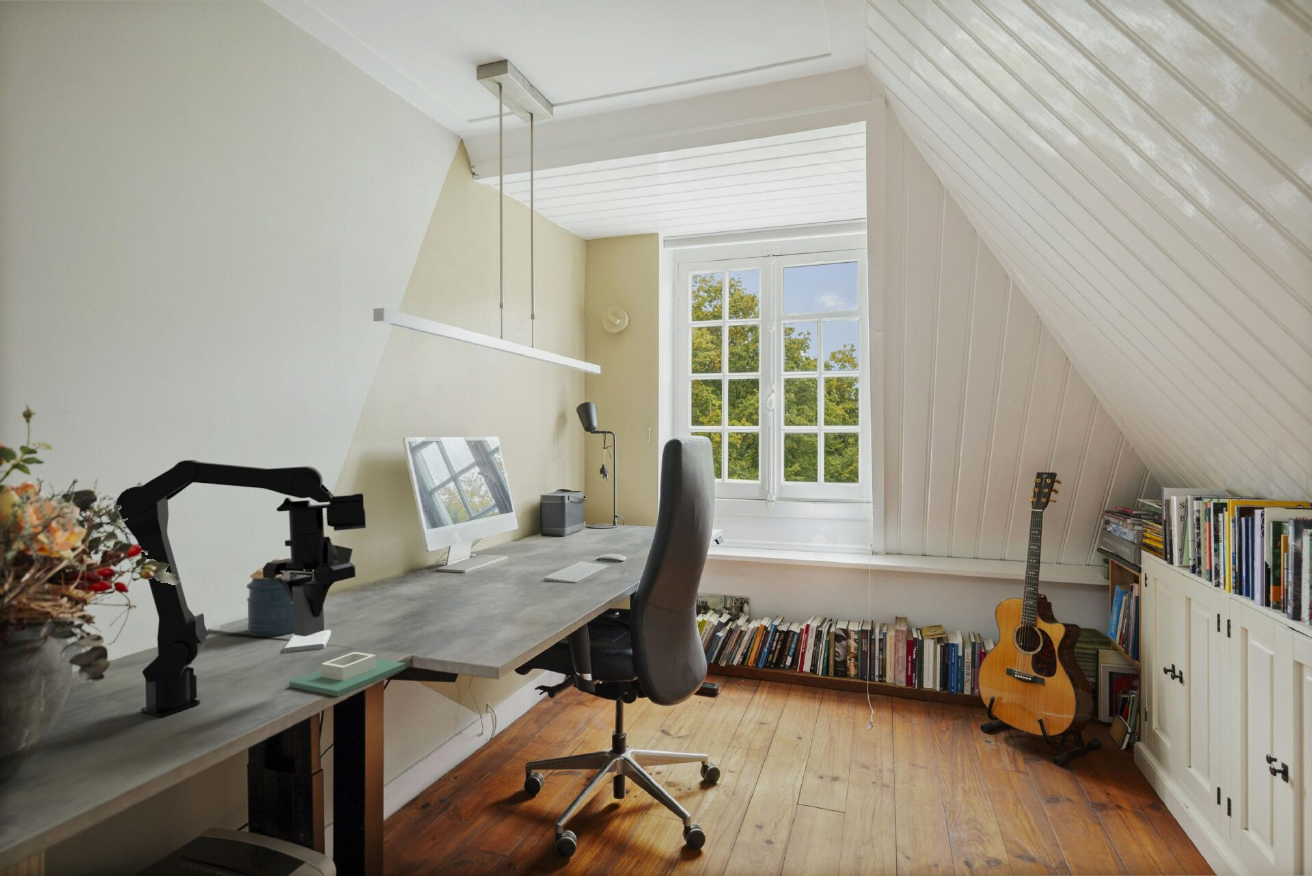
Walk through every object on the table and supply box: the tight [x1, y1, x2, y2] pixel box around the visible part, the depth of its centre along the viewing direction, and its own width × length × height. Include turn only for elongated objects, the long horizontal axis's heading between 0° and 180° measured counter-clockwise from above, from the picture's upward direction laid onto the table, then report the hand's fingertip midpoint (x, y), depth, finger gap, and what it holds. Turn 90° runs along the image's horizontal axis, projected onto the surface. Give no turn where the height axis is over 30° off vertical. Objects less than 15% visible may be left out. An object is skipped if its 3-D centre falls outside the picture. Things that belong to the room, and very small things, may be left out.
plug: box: [292, 584, 326, 636], centre depth 127 cm, size 5×3×9 cm, turn 154°
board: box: [289, 651, 406, 697], centre depth 132 cm, size 16×13×4 cm
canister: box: [246, 558, 294, 637], centre depth 168 cm, size 13×13×18 cm
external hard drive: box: [282, 629, 332, 654], centre depth 156 cm, size 2×8×12 cm
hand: (310, 616), depth 127 cm, fingers closed on plug, 3 cm apart
